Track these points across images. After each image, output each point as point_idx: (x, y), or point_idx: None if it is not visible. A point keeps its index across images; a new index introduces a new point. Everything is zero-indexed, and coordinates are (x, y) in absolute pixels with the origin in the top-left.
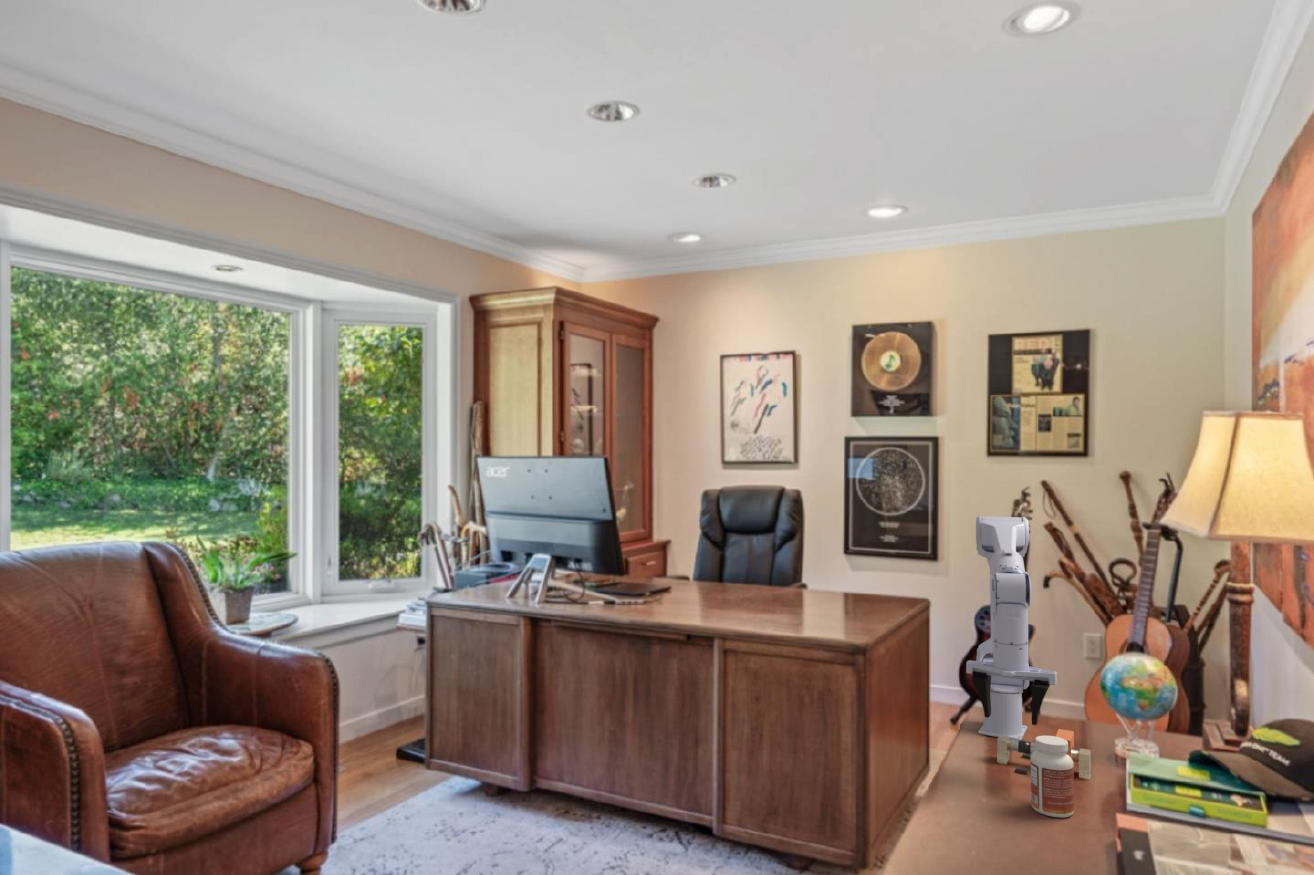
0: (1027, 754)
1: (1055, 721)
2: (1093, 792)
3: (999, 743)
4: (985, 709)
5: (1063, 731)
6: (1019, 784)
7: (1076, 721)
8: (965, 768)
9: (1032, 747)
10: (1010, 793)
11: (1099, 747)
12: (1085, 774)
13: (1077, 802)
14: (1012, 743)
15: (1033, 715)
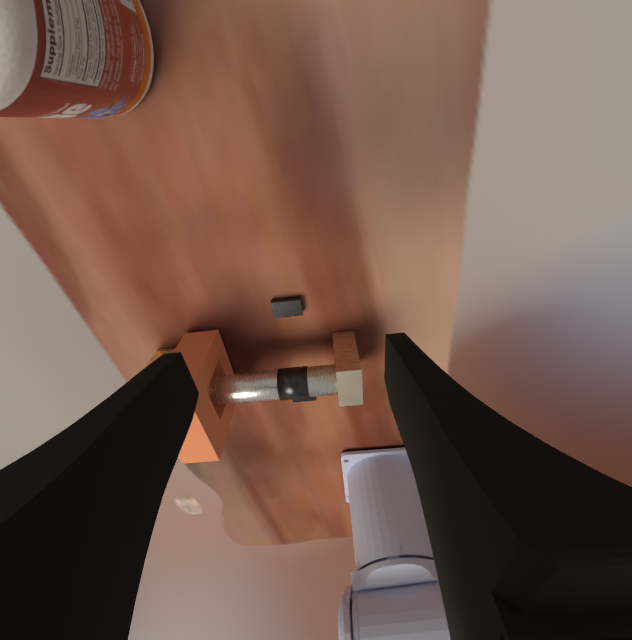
0: (306, 398)
1: (317, 532)
2: (108, 283)
3: (353, 363)
4: (412, 351)
5: (200, 451)
6: (262, 219)
7: (292, 541)
8: (419, 246)
9: (271, 380)
10: (255, 116)
11: (224, 485)
12: (160, 355)
13: (87, 182)
14: (322, 377)
15: (142, 379)
